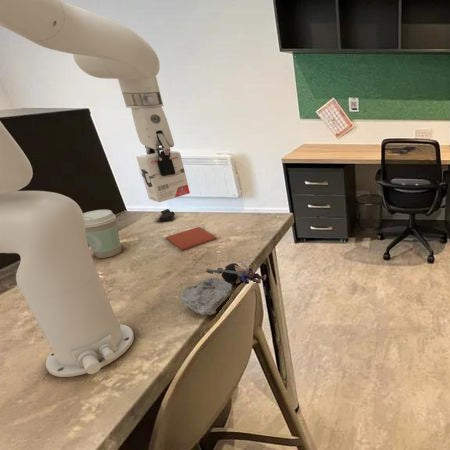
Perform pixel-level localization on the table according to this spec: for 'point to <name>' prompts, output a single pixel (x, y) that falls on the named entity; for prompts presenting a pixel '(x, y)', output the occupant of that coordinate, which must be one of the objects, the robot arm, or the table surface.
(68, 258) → the robot arm
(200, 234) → the side mat
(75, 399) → the table surface
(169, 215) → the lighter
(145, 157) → the ink box
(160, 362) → the table surface
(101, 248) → the coffee cup
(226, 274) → the toy
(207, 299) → the stone
